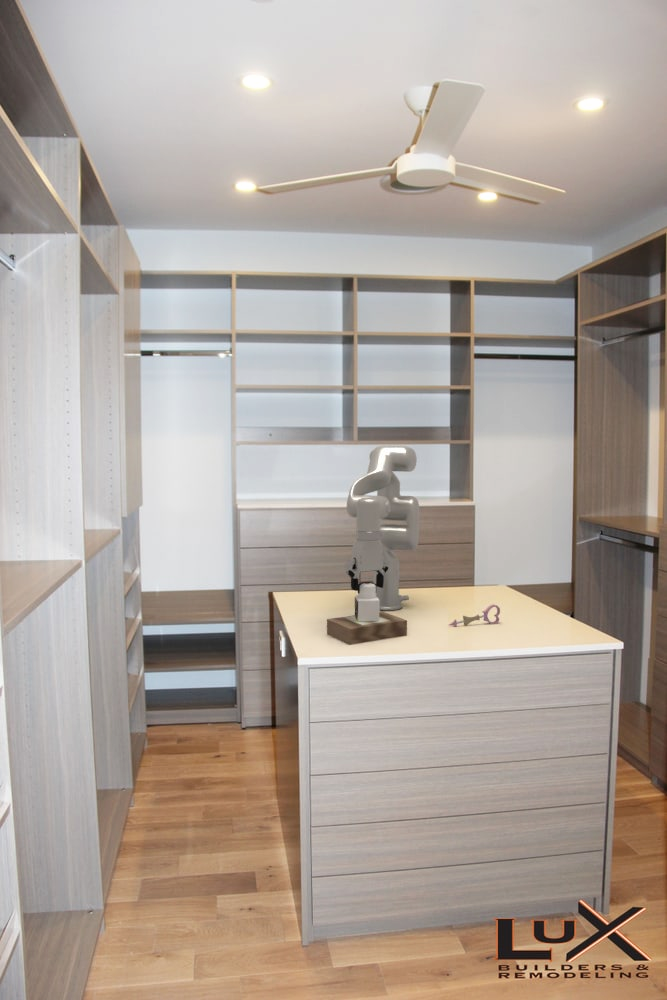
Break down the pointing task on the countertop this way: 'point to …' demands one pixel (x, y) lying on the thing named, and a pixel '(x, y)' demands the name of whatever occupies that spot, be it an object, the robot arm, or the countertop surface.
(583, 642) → the countertop surface
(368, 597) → the medicine bottle
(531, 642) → the countertop surface
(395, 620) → the shelf riser
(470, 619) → the decorative key
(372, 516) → the robot arm
